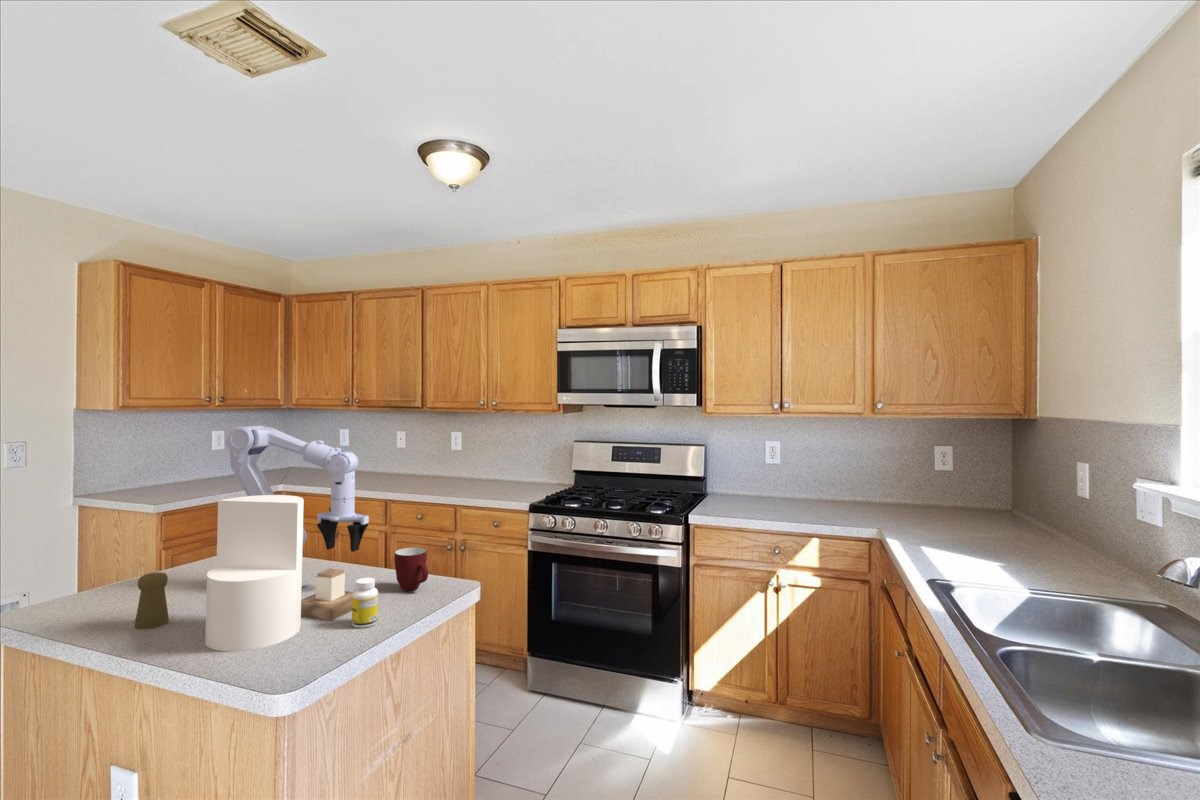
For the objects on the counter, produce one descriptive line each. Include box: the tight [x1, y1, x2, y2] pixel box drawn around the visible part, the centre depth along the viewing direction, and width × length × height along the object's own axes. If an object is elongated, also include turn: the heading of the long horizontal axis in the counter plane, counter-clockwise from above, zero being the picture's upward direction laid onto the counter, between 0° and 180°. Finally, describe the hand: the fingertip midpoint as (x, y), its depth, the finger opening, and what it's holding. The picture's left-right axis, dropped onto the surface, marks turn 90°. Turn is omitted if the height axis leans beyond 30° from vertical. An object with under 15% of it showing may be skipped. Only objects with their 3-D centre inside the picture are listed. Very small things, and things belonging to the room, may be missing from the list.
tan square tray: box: [301, 590, 354, 622], centre depth 134 cm, size 10×10×3 cm
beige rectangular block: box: [315, 567, 346, 601], centre depth 134 cm, size 4×4×6 cm
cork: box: [134, 571, 170, 630], centre depth 124 cm, size 6×6×11 cm
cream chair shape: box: [204, 494, 305, 652], centre depth 120 cm, size 17×17×28 cm
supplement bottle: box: [351, 577, 379, 629], centre depth 127 cm, size 5×5×10 cm
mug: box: [393, 547, 429, 592], centre depth 150 cm, size 10×8×10 cm
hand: (342, 549), depth 149 cm, fingers open, 7 cm apart
